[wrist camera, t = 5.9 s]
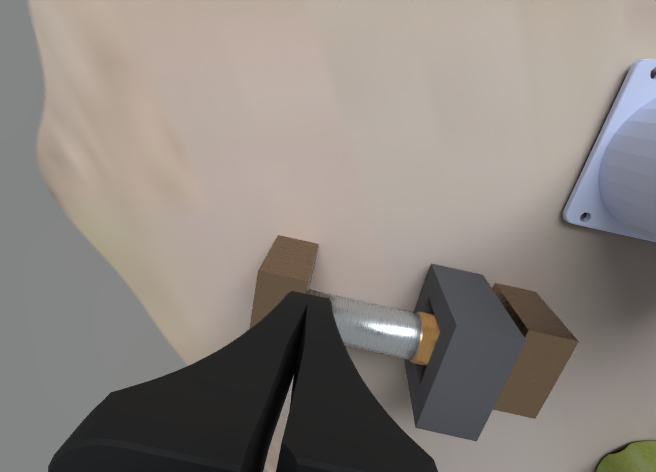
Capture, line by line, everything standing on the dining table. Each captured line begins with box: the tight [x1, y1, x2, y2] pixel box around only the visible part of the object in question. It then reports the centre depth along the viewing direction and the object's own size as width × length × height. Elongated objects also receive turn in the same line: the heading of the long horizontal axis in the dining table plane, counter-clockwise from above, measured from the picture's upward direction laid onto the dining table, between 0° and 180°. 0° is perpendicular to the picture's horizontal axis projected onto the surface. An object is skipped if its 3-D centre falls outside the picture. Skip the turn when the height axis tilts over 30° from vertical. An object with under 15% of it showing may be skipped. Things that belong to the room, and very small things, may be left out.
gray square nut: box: [404, 264, 526, 441], centre depth 19 cm, size 3×6×6 cm, turn 168°
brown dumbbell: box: [250, 235, 579, 418], centre depth 20 cm, size 15×5×5 cm, turn 78°
